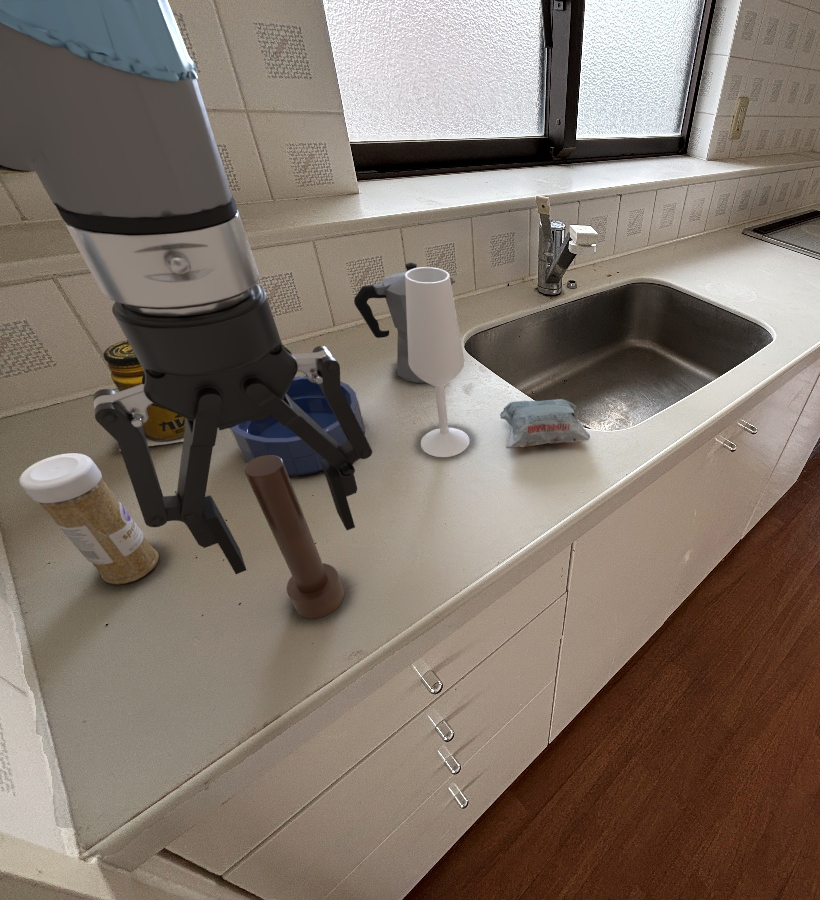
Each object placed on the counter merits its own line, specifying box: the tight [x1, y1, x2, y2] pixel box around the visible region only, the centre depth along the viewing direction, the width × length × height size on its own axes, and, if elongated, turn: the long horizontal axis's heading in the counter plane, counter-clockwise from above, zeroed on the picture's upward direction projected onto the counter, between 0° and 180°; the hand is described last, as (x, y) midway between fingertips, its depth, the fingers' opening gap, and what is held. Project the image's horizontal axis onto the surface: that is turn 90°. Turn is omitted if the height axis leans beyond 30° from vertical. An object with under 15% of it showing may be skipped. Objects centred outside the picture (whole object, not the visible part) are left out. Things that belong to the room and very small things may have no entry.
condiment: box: [103, 339, 185, 452], centre depth 62 cm, size 7×8×12 cm
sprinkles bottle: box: [18, 452, 160, 585], centre depth 46 cm, size 5×5×13 cm
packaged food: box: [499, 398, 591, 449], centre depth 72 cm, size 9×12×5 cm
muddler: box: [243, 455, 345, 619], centre depth 44 cm, size 4×4×18 cm
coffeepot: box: [353, 262, 456, 384], centre depth 78 cm, size 15×9×18 cm, turn 129°
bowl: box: [228, 375, 366, 477], centre depth 65 cm, size 15×15×6 cm
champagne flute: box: [405, 266, 470, 458], centre depth 63 cm, size 7×7×24 cm
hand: (294, 539), depth 44 cm, fingers open, 8 cm apart
